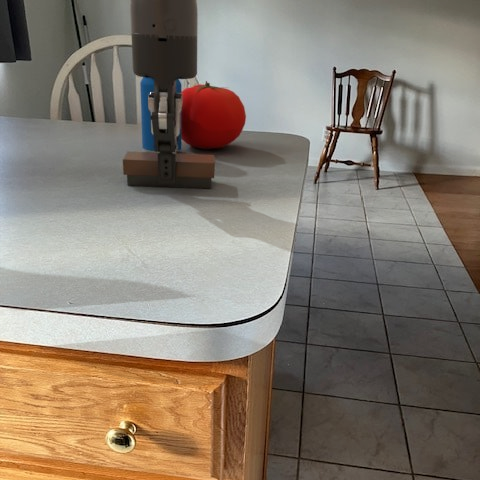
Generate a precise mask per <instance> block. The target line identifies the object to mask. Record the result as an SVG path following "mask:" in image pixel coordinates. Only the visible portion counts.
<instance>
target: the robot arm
mask: <svg viewBox="0 0 480 480" xmlns="http://www.w3.org/2000/svg"><path fill="white" fill-rule="evenodd" d="M129 9H130V33H131V56H132V57H131V58H132V72H133V74H134V75H135V76H136V77H140V78H143V77H145V78H152V79H153V81H154V92H150V95H149V94H148V108H149V110H150V112H151V132H152V134H153V136H154V149H155V152H156V154H158V181H159V183H160V184H174V183H175V181H176V152H177V149H178V145H177V141H178V137H177V136H178V135H179V133H180V129H181V109H182V106H183V95H182V94H181V93H176V80H177V79H179V80H190V79H193V78H195V77H197V75H198V17H199V16H198V15H199V14H198V3H197V0H130V8H129ZM177 153H178V152H177Z"/></svg>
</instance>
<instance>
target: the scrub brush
mask: <svg viewBox="0 0 480 480" xmlns="http://www.w3.org/2000/svg"><path fill="white" fill-rule="evenodd" d="M215 161H216V158H215V154H203V153H202V154H198V153H178V152H177V153H176V181H175V183H174V184H160V183H159V181H158V154H156V153H155V152H147V151H130V150H128V151H127V152H126V154H125V155H124V156H123V158H122V169H123V170H122V174H123V175H124V176H126V185H127V186H128V187H129V186H131V187H132V186H133V187H156V188H157V187H158V188H185V189H186V188H188V189H212V179H215V173H216V172H215V170H216V169H215V167H216V162H215Z"/></svg>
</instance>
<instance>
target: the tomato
mask: <svg viewBox="0 0 480 480" xmlns="http://www.w3.org/2000/svg"><path fill="white" fill-rule="evenodd" d="M181 94H182V95H183V106H182V109H181V141H183V142H184V143H185V144H187V145H188V146H191V147H193V148H197V149H202V150H210V149H221V148H223V147H226V146H228V145H230V144H231V143H232V142H234V141H236V139H238V138H239V137H240V136H241V133H242V132H243V130H244V127H245V125H246V121H247V113H246V109H245V105H244V104H243V102H242V100H241V98H240V97H239V96H238V94H236V93H235V92H234V91H233V90H231V89H229V88H226V87H220V86H219V87H218V86H214V85H211V83H210V82H208V81H207V80H205V84H203V83H202V84H196V85H193V86H191V87H186V88H184V89H183V90H181Z"/></svg>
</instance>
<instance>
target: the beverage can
mask: <svg viewBox="0 0 480 480" xmlns="http://www.w3.org/2000/svg"><path fill="white" fill-rule="evenodd" d="M139 87H140V90H139V91H140V116H141V143H142V144H141V145H142V146H141V147H142V150H144V151H145V152H155V149H154V136H153V134H152V132H151V112H150V110H149V108H148V94H149V95H150V92H154V81H153V79H152V78H145V77H142V79H141V80H140V85H139ZM181 92H182V82H181V81H180V79H177V80H176V93H181ZM177 137H178V141H177V145H178V149H177V152H176V153H178V152H180V151H181V150H182V139H181V129H180V133H179V135H178V136H177ZM155 153H156V152H155Z"/></svg>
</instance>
